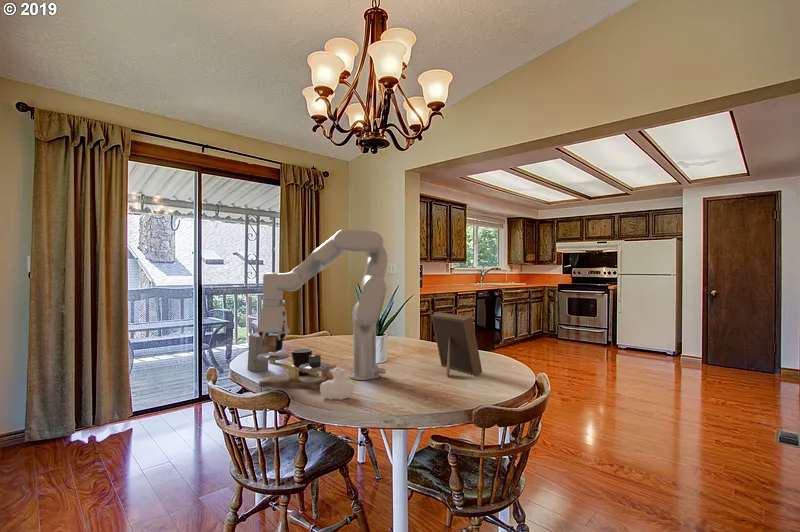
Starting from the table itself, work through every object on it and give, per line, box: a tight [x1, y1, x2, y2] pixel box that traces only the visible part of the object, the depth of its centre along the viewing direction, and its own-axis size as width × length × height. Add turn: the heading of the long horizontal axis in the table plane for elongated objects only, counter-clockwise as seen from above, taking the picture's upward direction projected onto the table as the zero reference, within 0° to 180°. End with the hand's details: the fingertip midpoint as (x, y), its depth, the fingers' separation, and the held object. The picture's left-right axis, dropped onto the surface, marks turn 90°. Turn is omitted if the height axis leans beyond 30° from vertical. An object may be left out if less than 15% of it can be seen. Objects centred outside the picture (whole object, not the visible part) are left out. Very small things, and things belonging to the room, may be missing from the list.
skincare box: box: [247, 332, 270, 373], centre depth 180 cm, size 8×7×16 cm
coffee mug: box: [291, 347, 313, 377], centre depth 175 cm, size 12×9×10 cm
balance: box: [257, 351, 331, 381], centre depth 158 cm, size 30×12×10 cm, turn 77°
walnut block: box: [263, 334, 283, 353], centre depth 160 cm, size 5×5×6 cm
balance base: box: [258, 374, 327, 390], centre depth 158 cm, size 24×10×2 cm, turn 77°
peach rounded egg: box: [320, 362, 337, 381], centre depth 164 cm, size 6×6×6 cm
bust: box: [319, 366, 355, 401], centre depth 142 cm, size 12×8×11 cm
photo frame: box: [430, 311, 483, 378], centre depth 175 cm, size 15×22×25 cm
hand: (272, 348), depth 160 cm, fingers closed on walnut block, 5 cm apart
